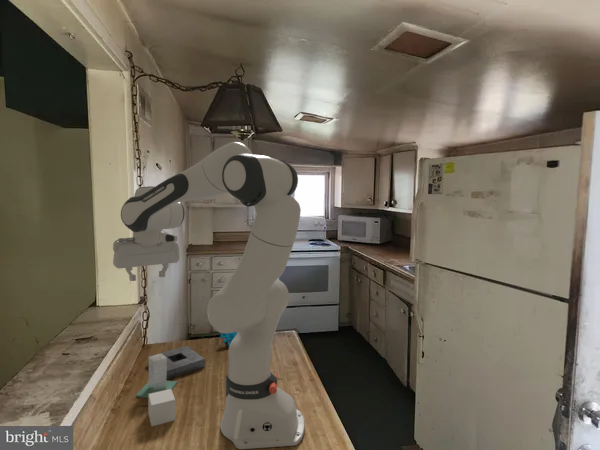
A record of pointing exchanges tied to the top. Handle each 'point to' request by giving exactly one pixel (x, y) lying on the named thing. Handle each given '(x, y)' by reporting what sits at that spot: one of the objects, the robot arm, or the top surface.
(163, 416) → the plain white cube
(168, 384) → the rubber mat
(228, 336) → the gear
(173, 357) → the socket block
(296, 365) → the top surface
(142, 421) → the top surface
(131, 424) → the top surface
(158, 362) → the steel bar
